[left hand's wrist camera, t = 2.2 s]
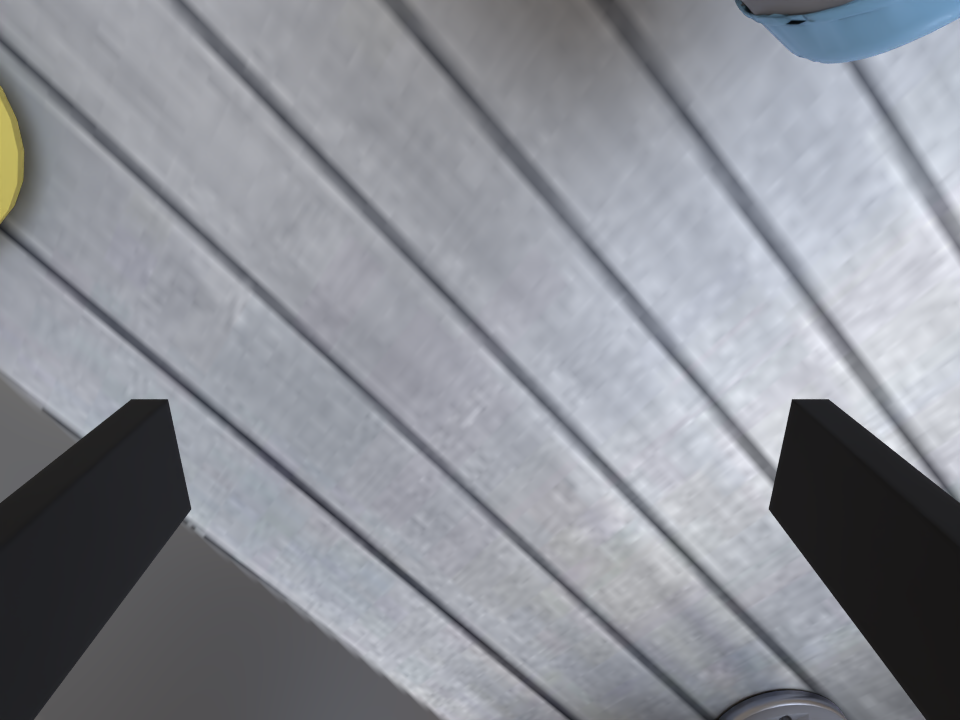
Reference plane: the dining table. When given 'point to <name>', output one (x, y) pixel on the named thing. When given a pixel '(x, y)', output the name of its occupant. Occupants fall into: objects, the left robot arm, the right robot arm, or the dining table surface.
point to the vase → (9, 157)
